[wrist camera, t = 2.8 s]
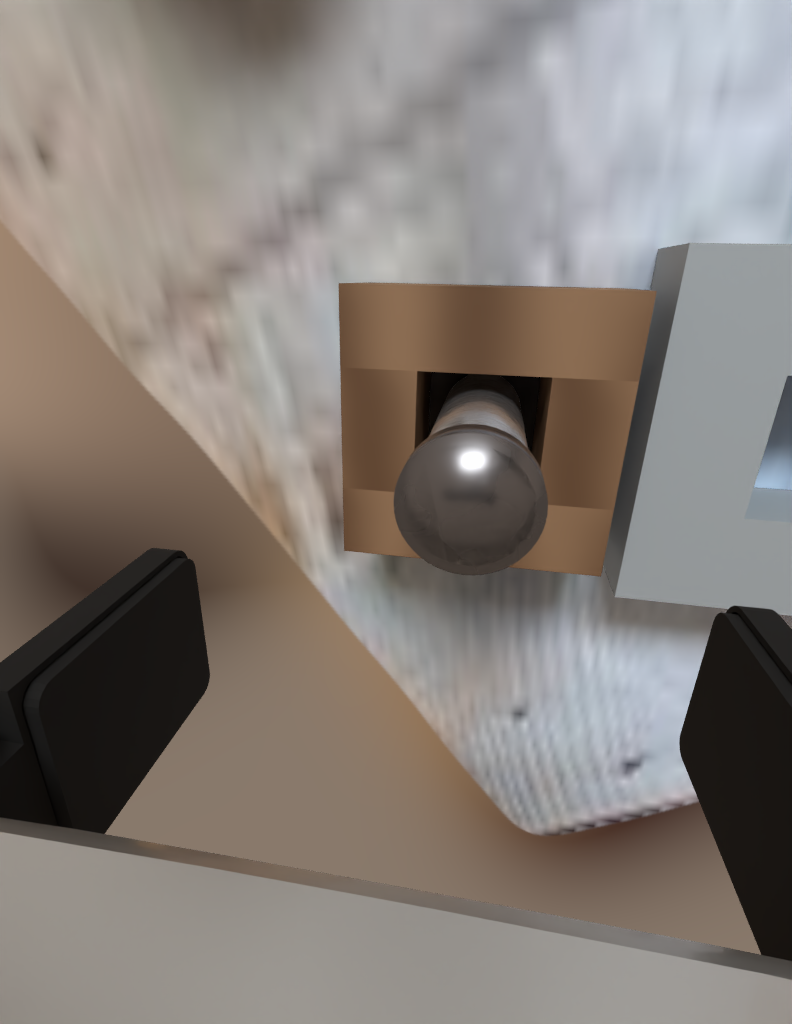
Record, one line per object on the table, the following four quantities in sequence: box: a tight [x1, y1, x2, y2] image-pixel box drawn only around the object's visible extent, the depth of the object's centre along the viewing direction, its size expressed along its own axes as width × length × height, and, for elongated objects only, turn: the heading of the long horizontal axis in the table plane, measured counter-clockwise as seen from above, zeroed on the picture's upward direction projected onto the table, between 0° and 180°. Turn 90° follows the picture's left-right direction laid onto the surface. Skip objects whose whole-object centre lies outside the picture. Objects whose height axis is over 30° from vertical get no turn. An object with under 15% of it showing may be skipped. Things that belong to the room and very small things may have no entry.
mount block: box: [339, 283, 657, 576], centre depth 23 cm, size 11×11×5 cm
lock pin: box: [393, 374, 548, 575], centre depth 20 cm, size 4×4×12 cm
